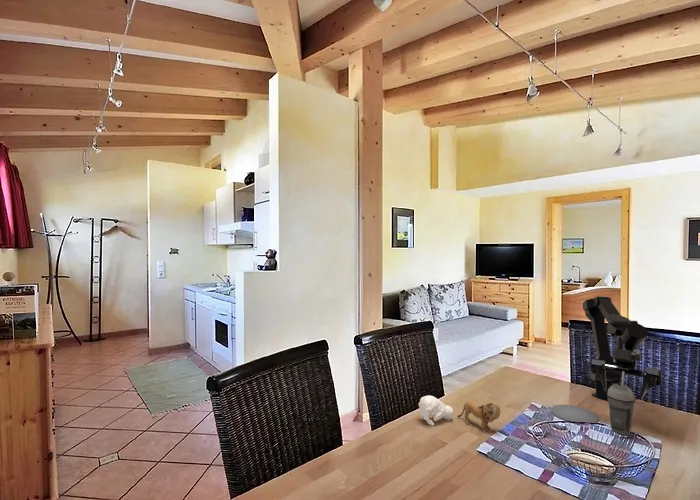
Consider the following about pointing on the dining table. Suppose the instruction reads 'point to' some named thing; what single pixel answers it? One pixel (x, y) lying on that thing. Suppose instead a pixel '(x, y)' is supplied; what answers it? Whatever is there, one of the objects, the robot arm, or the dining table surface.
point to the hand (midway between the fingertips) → (622, 394)
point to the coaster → (573, 413)
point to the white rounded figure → (434, 409)
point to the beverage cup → (621, 407)
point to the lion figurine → (482, 413)
